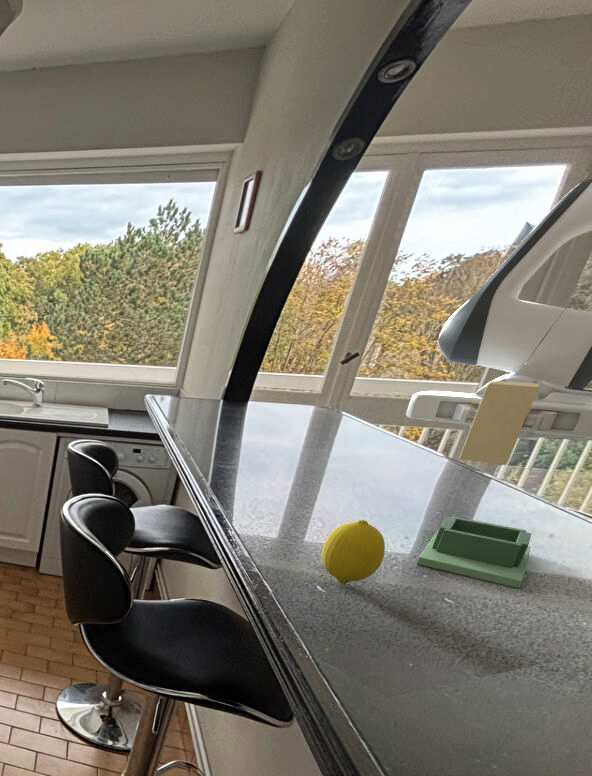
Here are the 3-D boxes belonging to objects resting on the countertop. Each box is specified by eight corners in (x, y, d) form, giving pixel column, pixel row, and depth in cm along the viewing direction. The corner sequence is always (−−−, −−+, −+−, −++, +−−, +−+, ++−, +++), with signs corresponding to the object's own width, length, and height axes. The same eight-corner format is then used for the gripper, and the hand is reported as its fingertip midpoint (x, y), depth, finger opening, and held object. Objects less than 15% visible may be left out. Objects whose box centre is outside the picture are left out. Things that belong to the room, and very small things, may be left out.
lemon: (347, 596, 67) (370, 530, 64) (302, 576, 72) (321, 514, 69) (383, 590, 68) (407, 526, 65) (337, 571, 73) (357, 510, 70)
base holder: (436, 534, 85) (446, 508, 83) (527, 553, 79) (540, 525, 77) (416, 564, 75) (427, 535, 74) (518, 588, 69) (533, 557, 67)
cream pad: (463, 453, 82) (491, 380, 79) (508, 459, 79) (540, 383, 76) (458, 458, 80) (488, 383, 76) (505, 465, 77) (538, 386, 73)
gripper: (423, 379, 91) (405, 386, 83) (627, 393, 77) (631, 404, 69) (409, 419, 94) (390, 431, 85) (605, 440, 79) (606, 457, 71)
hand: (500, 419), depth 77 cm, fingers closed on cream pad, 4 cm apart
